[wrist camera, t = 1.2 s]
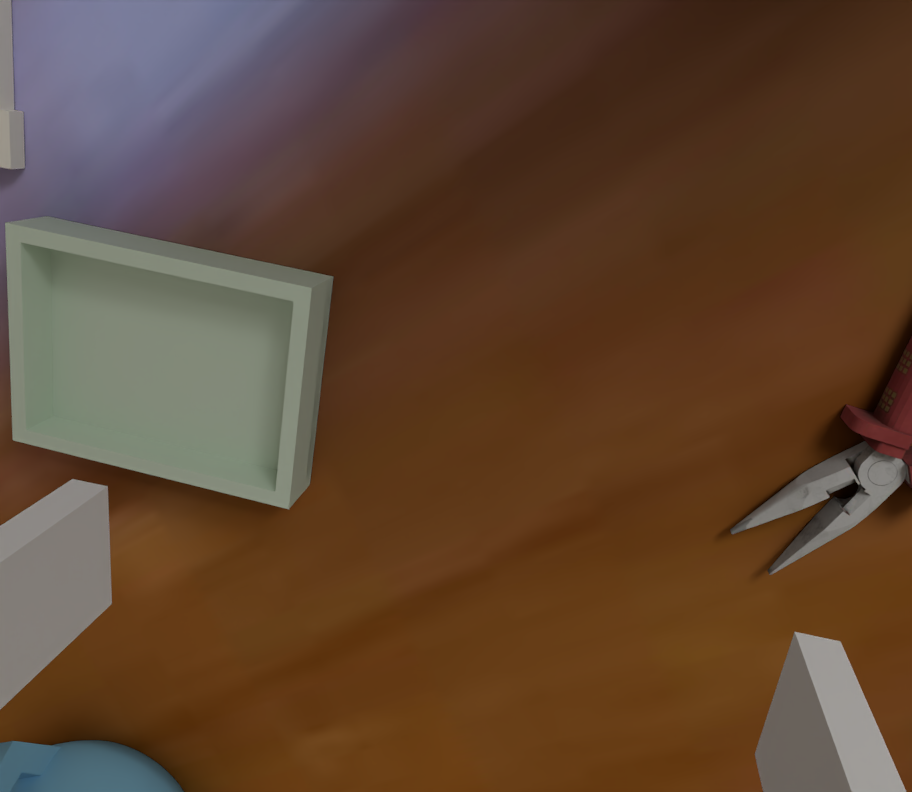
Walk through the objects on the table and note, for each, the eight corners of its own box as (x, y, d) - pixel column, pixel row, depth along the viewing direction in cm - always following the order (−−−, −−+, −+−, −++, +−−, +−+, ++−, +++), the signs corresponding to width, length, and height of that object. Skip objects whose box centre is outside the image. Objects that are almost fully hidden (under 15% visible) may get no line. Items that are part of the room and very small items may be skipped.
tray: (47, 216, 41) (5, 222, 38) (333, 276, 39) (311, 288, 36) (50, 420, 45) (12, 440, 42) (310, 484, 43) (288, 509, 40)
